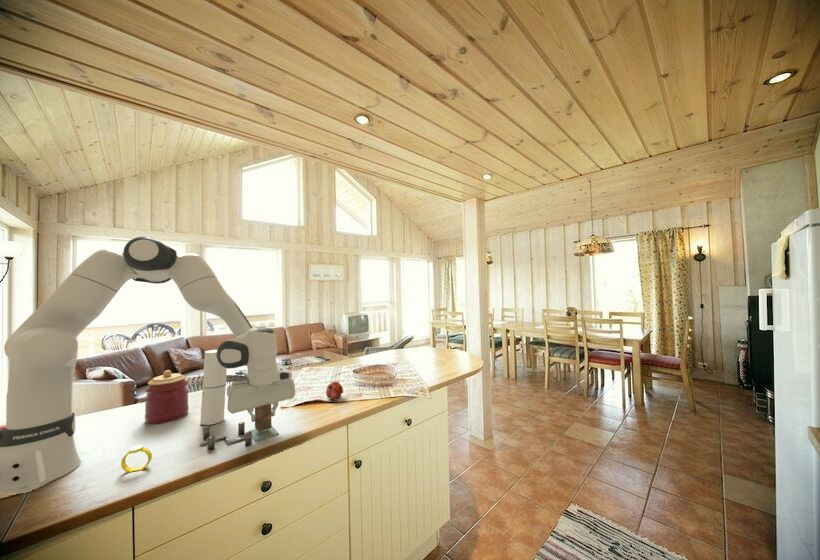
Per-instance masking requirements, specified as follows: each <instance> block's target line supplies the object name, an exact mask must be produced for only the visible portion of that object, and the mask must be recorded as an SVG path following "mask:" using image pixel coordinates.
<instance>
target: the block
mask: <svg viewBox="0 0 820 560" xmlns="http://www.w3.org/2000/svg"><path fill="white" fill-rule="evenodd" d="M271 409H272V404H267V405H263V406H259V407H256V408H254V414H256V415H257V421H255V422H254V429H256V430H257V431H258V432H260V431H263V430H267V429H270V428H271V425H272V417H271Z"/></svg>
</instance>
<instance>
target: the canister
mask: <svg viewBox="0 0 820 560" xmlns="http://www.w3.org/2000/svg"><path fill="white" fill-rule="evenodd" d="M186 378H187V376H186V375H184V374H181V373H172V371H171V370H170V369H167V370H164V371H163V373H162V375H161V374H160V375H158V376H155V377H153V378H152V379H151V380H149V381H148V382H147V384H148V386H147V387H146V388H145V389H144V392H146V397H145V398H144V403H145V406H144V407H145V409H144V411H145V415H144V420H145V423H147V424H149V425H158V424H164V423H165V422H166V423H169V421H170V422H173V421H176V420H179V419H181V418H183V417H185V416H187V415H188V413H189V389H188V385H189V383H190V382H189V381H188V380H186Z"/></svg>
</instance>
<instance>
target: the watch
mask: <svg viewBox="0 0 820 560" xmlns="http://www.w3.org/2000/svg"><path fill="white" fill-rule="evenodd" d="M138 452H143V453H145V454H146V456H147V462H146V464H145V465H143V466H140V467H134V468H132V467H130V466H128V465H127V463H126V458H127V457H128V455H130V454H136V453H138ZM152 458H153V457H152V452H151V451H150V449H148V448H147V447H144V445H142V444H140V445H136V446H133V447H131V448H130V449H129V450H128V452H126V453H125V455H124V456H123V457H122V459H121V461H120V463H121V464H120V465H121V469H122V470H123V471H125V472H127V473H133V472H138V471H143V470H144V469H145V468H147V467H148V466H149V464H150V463H151V460H152Z"/></svg>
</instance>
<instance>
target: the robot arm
mask: <svg viewBox="0 0 820 560" xmlns="http://www.w3.org/2000/svg"><path fill="white" fill-rule="evenodd" d="M131 279H132V280H133V281H135V282H141V283H150V284H155V285H156V284H165V283H168V282H169V281H171V280H172V281H173V282H174V283H175V284H176V286H177V288H178V290H179V292H180V294H181V295H182V297H183V299H184V301H185V302H186V303H187V304H188V305H189V306H190V307H191V308H192V309H193V310H197V311H199V312H204V313H208V314H211V315H214V316H215V317H216V316H217V317H218V318H220V319H221V320H223V321H224V323H225V324H226V325H227V327H228V329H230V331H231V333H232V334H233V335H234V337H232V338H230V339H227V340H225V341H223V342H221V343H220V345H219V346H218V347H217V349H216V350H217V354H216V355H217V360H218V362H219V363H220V365H221V366H223V367H225V368H227V370H228V369H236V368H240V367H244V366H245V367H247V378H246V379H243V380H239V381H233V382H232V383H230V384H229V385H228V386H227V388H226V396H227V397H228V398H227V404H226V405H227V411H228V412H229V413H230V414H232V415H233V414H236V413H240V412H243V411H247V413H248V414H249V415H250V421H251V422H252V423H255V421H257V415H256V414H255V413H253V412H255V408H256V407H259V406H263V405H267V404H271V405H272V406H271V418H272V417H275V416H276V410H277V408H278V406H279V402H283V401H287V400H290V399H293V398H294V397H295V395H296V386H295V381H294V379H293V378H292V377H293V372H292V371H290V370H288V369H286V368H279V367H278V362H277V355H278V346H277V345H278V343H277V335H276V333H275V331H274V330H273V329H272V328H269V327H266V326H264V327H263V326H254V327H253V326H252V324H251V323H250V322H249V320H248V319H247V317H246V316H245V314H244V313H243V312H242V310H241V309H240V307H239V305H237V303H236V302H235V300H234V299H233V298H232V297H231V296H230V295H229V294H228V292H227V291H226V290H225V288H224V287H223V286H222V284H221V282H220V281H219V279H218V278H217V276H216V274H215V272H214V271H213V269H212V268H211V267H210V265H209V263H208V262H207V261H206V260H205V259H204V258H203V257H202V256H201V255H199V254H197V253H185V254H182V255H181V254H180V255H178V254H177V250H176V249H174V248H173V247H170V246H169V245H167V244H165V243H164V242H162V241H160V240H158V239H157V238H154V237H151V236H139V237H138V236H137V237H135V238H131V240H129V241H128V242H127V243H126V244H125V246H124V247H123V251H122V252H119V251H116V250H115V249H114V250H113V249H100V250H97V251H95V252H94V253H92V254H90V256H89V257H87V258H86V259H85V260H83V261H82V262H81V263H80V264H79V265H78V266H77V267H75V269H74V270H73V271H72V272H71V273H70V274H69V275H68V276H67V277H66V278H65V279H64V280H63V281H62V283H61V284H60V285H59V286H58V287H57V288H56V289H55V291H54V292H53V293H52V294H51V295H50V296H49V297H48V298H47V300H45V301H44V302H43V303H42V304H41V305H40V306H39V307H38V308H36V310H35V311H34V312H32V314H31V315H29V317H28V318H27V319H26V320H25V321H23V322H22V324H21V325H20V326H18V328H17V329H15V331H14V332H12V334H11V335H10V336H9V337H8V338H7V339H6V340H5V343H4V348H3V349H4V350H3V351H4V353H5V356H6V357H7V358H8V359H9V371H8V373H9V374H8V381H7V382H8V384H7V392H6V396H5V397H6V403H5V404H6V405H5V411H6V412H5V415H6V416H5V418H6V419H5V424H3V425H0V491H2V492H3V493H4V494H7V493H22V492H27V491H31V490H34V489H36V488H38V489H40V488H41V486H42V487H43V486H46V484H48V483H50V482H53V481H54V480H57V479H59V478H61V477H63V476H65V475H67V474H69V473H70V472H72V471H74V470H75V469H77V468H78V467H79V466H80V464H81V461H82V460H81V459H80V457H79V454H78V451H77V448H76V444H75V443H76V442H75V439H74V434H75V431H76V417H75V416H76V415H75V412H73V388H74V387H73V384H74V378H75V372H76V365H77V357H78V349H79V342H78V339H77V337H78V336H79V335H80V334H81V333H82V332H83V331H84V330H85V329H86V328H87V327H88V326H90V324H92V322H93V321H94V320H96V319H97V318H98V317H99V316H100V315H101V314H102V313H103V311H104V310H105V309H106V307H108V305H109V303H110V302H111V301H112V300H113V298H115V297H116V294H117V293H118V292H119V291H120V290H121V289H122V287H123V286H124V285H125V284H126V283H127V282H128V281H130V280H131ZM39 487H40V488H39ZM36 490H37V489H36ZM34 491H35V490H34ZM31 492H32V491H31Z"/></svg>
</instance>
